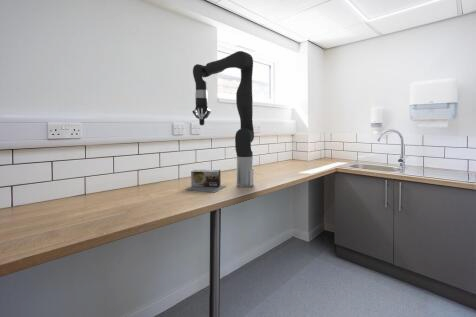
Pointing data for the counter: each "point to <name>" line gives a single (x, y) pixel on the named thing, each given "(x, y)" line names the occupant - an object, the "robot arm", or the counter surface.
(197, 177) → the coffee box
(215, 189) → the mat
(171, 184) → the counter surface
